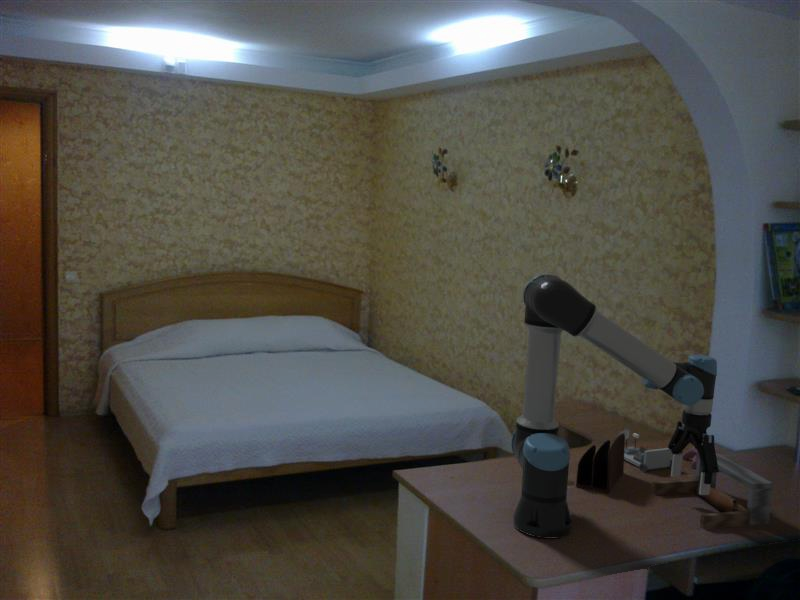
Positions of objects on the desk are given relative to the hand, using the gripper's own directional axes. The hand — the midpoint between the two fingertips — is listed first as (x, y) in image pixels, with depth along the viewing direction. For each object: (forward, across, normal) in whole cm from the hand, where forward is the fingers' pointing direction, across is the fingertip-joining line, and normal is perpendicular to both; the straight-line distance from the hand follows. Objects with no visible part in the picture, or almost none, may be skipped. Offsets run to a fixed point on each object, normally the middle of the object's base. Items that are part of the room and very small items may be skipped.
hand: (689, 485), depth 218 cm
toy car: (+8, +38, -8) cm, 39 cm away
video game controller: (+7, +33, -25) cm, 42 cm away
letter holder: (+8, +25, +14) cm, 29 cm away
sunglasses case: (+7, 0, -12) cm, 14 cm away
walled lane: (+7, 0, -7) cm, 10 cm away
